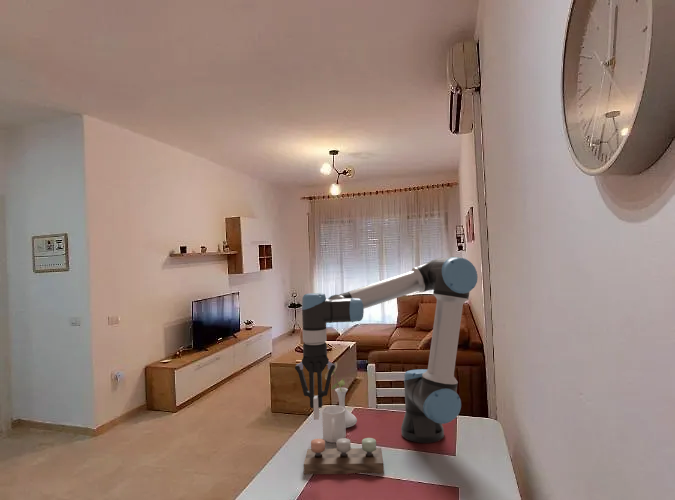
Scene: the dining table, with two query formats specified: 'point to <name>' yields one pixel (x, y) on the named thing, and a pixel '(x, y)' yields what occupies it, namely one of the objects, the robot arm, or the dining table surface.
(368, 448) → the sage egg
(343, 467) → the cardboard egg tray
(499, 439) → the dining table surface
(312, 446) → the orange egg
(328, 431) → the mug
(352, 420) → the flower in vase
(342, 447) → the grey egg
